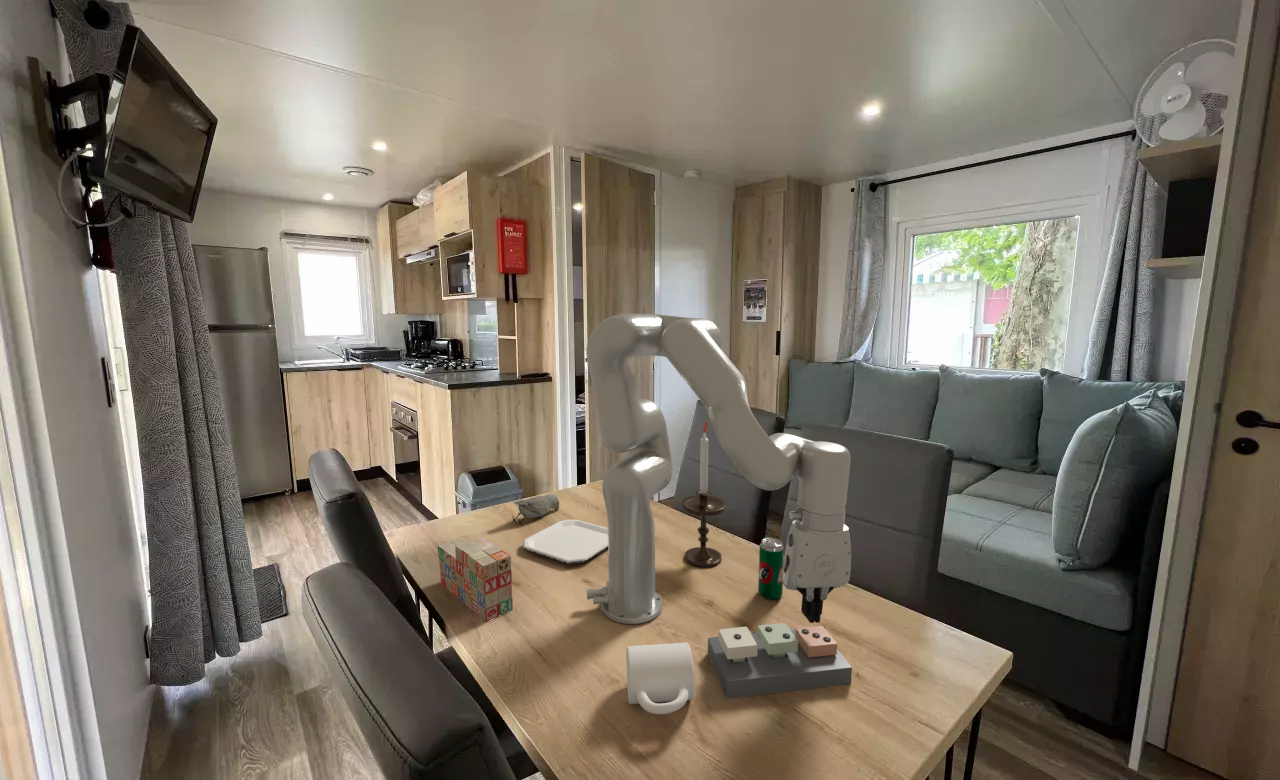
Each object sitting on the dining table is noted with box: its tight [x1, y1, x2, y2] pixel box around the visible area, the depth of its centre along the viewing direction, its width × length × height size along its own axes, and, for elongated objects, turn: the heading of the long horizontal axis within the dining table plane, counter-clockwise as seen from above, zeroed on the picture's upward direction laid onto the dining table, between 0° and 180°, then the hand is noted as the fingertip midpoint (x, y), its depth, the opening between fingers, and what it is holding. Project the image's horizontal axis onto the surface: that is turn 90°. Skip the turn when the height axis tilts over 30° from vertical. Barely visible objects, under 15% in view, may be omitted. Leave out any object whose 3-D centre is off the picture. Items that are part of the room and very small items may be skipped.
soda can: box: [757, 537, 785, 601], centre depth 109 cm, size 5×5×12 cm
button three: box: [795, 625, 838, 657], centre depth 88 cm, size 5×5×5 cm
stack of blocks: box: [437, 536, 514, 623], centre depth 109 cm, size 21×6×12 cm, turn 45°
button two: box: [757, 622, 798, 659], centre depth 86 cm, size 5×5×5 cm
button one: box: [718, 626, 757, 663], centre depth 85 cm, size 5×5×5 cm
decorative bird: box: [511, 493, 560, 527], centre depth 152 cm, size 5×16×8 cm, turn 140°
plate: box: [523, 518, 608, 565], centre depth 134 cm, size 21×21×2 cm
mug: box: [625, 642, 696, 715], centre depth 79 cm, size 12×10×8 cm
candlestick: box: [680, 419, 727, 569], centre depth 123 cm, size 11×11×35 cm
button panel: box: [707, 628, 853, 699], centre depth 87 cm, size 21×11×3 cm, turn 98°
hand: (810, 617), depth 87 cm, fingers closed
